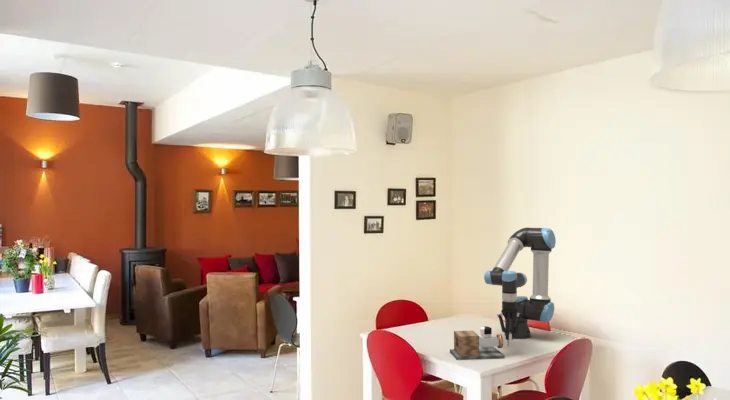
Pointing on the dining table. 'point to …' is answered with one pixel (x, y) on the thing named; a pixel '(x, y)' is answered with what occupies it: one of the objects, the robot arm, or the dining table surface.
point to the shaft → (491, 341)
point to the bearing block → (472, 347)
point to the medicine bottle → (485, 334)
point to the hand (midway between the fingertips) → (509, 345)
